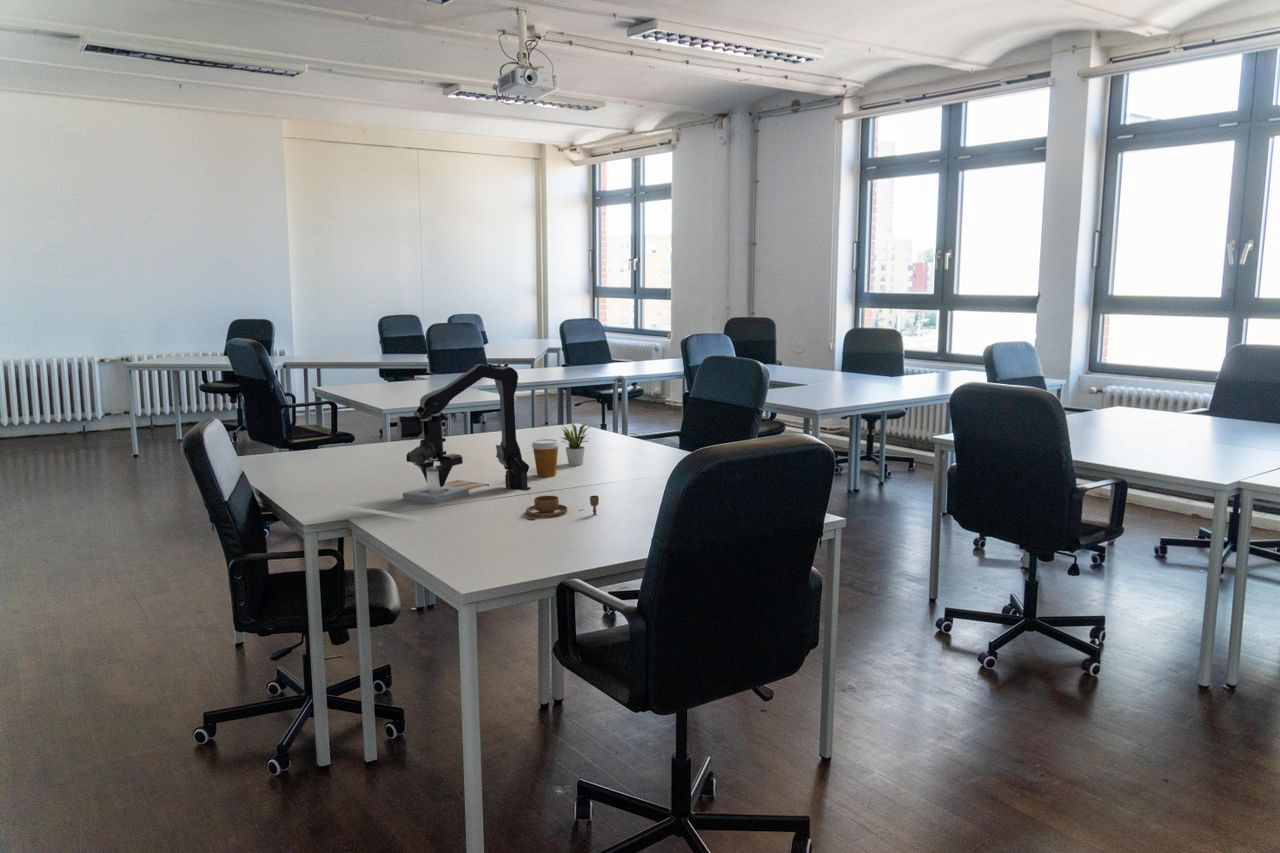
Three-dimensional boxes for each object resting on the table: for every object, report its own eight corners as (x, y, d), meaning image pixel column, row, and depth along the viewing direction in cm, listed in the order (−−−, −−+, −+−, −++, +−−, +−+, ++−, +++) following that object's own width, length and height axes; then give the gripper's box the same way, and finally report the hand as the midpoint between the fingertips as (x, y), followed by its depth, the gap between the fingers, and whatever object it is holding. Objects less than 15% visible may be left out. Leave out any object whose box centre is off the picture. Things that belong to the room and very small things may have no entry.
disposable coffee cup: (529, 474, 317) (527, 440, 315) (555, 471, 321) (553, 438, 319) (537, 479, 308) (536, 444, 307) (564, 476, 312) (563, 442, 310)
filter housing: (468, 498, 282) (468, 488, 282) (436, 507, 270) (436, 497, 270) (436, 493, 289) (435, 484, 289) (403, 502, 278) (402, 492, 277)
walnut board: (489, 487, 297) (489, 484, 297) (459, 495, 286) (459, 492, 285) (457, 482, 305) (457, 480, 304) (427, 491, 293) (427, 488, 293)
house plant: (601, 460, 340) (600, 417, 338) (595, 467, 326) (594, 422, 324) (563, 460, 342) (562, 417, 339) (556, 467, 328) (555, 422, 325)
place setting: (556, 505, 272) (556, 486, 271) (603, 516, 258) (602, 496, 258) (510, 516, 260) (509, 496, 259) (556, 528, 246) (556, 507, 245)
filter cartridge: (448, 496, 281) (446, 467, 279) (436, 499, 276) (434, 470, 275) (436, 494, 283) (434, 466, 282) (424, 497, 279) (422, 468, 278)
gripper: (391, 437, 275) (394, 487, 277) (436, 441, 265) (438, 494, 268) (418, 432, 284) (421, 480, 287) (462, 436, 275) (465, 486, 277)
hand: (435, 485), depth 279 cm, fingers closed on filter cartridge, 5 cm apart
